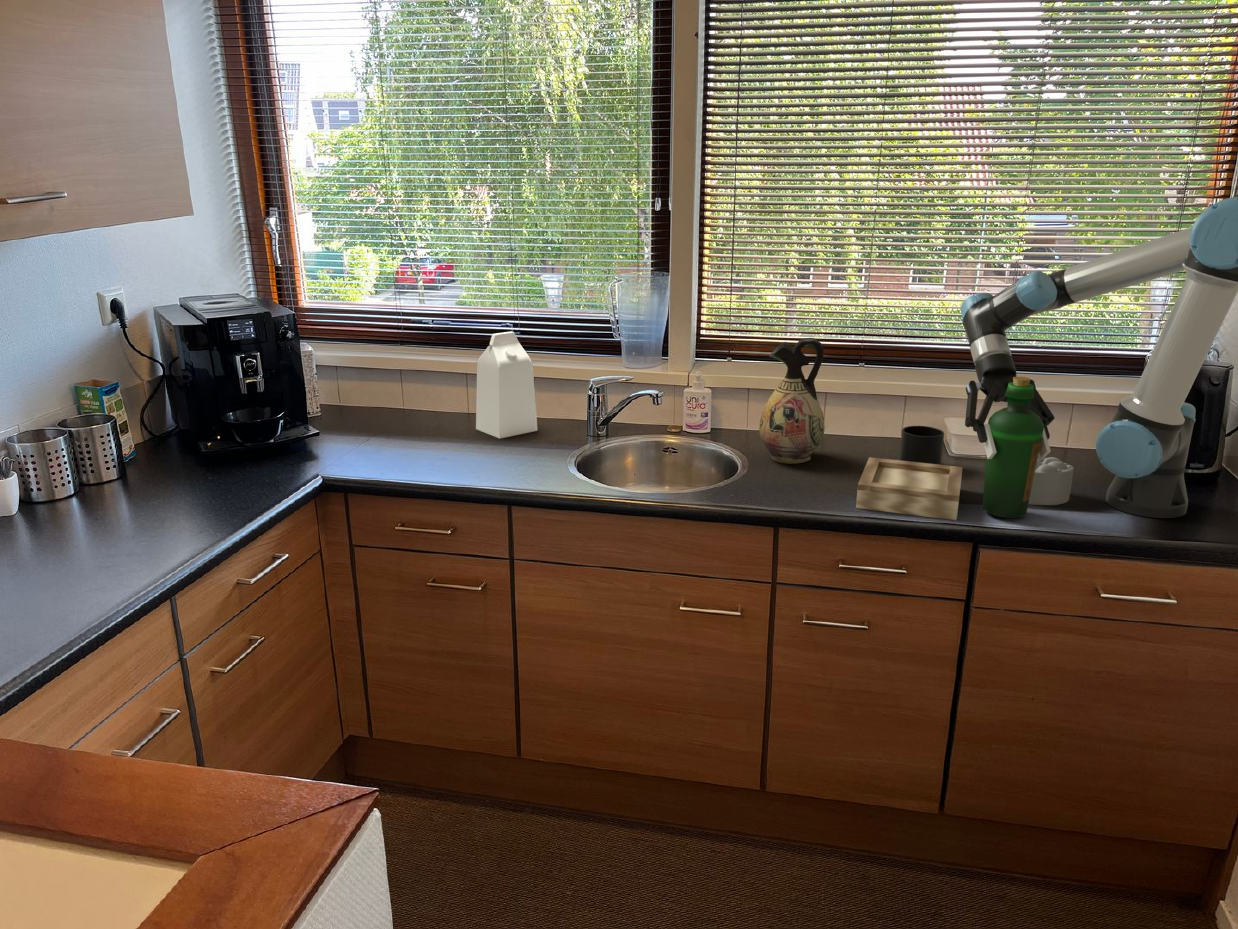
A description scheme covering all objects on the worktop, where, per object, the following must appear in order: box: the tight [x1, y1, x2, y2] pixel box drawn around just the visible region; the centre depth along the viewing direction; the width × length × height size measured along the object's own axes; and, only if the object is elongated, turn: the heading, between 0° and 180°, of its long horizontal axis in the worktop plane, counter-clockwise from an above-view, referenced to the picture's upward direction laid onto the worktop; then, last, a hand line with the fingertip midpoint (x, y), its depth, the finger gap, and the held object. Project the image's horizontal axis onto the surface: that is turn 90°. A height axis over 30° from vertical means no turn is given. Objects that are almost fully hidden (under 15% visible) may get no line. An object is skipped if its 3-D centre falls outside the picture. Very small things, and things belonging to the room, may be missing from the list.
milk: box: [475, 331, 538, 439], centre depth 253 cm, size 12×12×26 cm
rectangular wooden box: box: [855, 456, 964, 521], centre depth 206 cm, size 20×20×5 cm
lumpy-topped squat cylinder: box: [1028, 453, 1075, 506], centre depth 207 cm, size 10×13×9 cm
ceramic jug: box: [758, 337, 825, 465], centre depth 229 cm, size 17×15×30 cm
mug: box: [898, 425, 945, 465], centre depth 227 cm, size 9×12×9 cm
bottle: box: [982, 376, 1044, 519], centre depth 194 cm, size 11×11×28 cm
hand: (1019, 455), depth 191 cm, fingers closed on bottle, 10 cm apart
